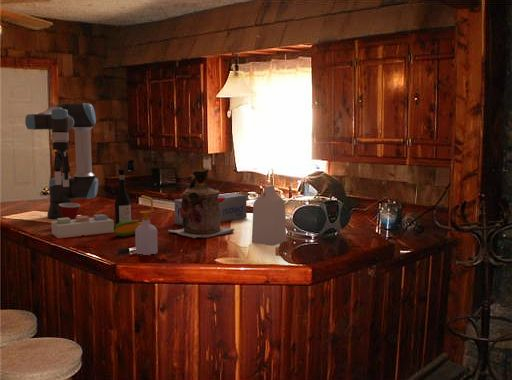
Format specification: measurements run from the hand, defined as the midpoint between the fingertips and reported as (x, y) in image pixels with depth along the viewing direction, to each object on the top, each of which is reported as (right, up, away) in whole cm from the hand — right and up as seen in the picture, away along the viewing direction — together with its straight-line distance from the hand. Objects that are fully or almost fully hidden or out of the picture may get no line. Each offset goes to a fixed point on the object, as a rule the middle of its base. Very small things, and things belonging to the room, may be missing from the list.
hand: (62, 185), depth 273 cm
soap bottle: (+47, -29, -34) cm, 65 cm away
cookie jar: (+66, -24, +8) cm, 71 cm away
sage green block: (0, -21, +2) cm, 21 cm away
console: (+8, -23, +8) cm, 26 cm away
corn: (+33, -24, +4) cm, 41 cm away
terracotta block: (+8, -20, +7) cm, 23 cm away
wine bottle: (+23, -21, +26) cm, 41 cm away
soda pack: (+69, -20, +40) cm, 82 cm away
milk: (+100, -26, -12) cm, 104 cm away
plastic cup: (-4, -21, +24) cm, 32 cm away
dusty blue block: (+15, -20, +12) cm, 28 cm away
